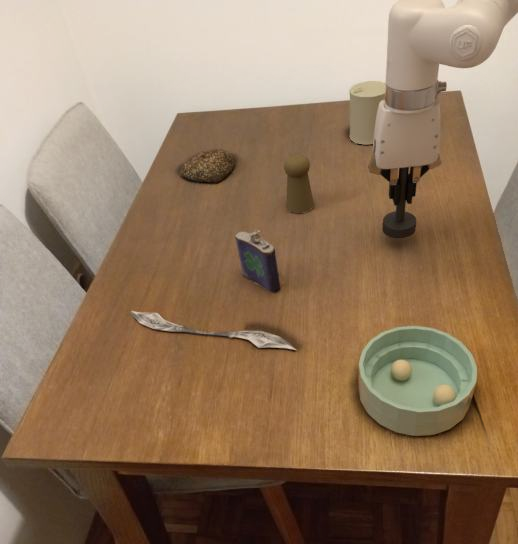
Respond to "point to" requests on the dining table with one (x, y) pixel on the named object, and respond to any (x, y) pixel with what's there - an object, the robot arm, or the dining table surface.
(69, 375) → the dining table surface
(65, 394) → the dining table surface
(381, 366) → the bowl
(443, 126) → the dining table surface
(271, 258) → the flask
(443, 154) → the dining table surface
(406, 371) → the dough ball
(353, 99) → the can
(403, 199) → the peg on round base
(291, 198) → the olive brown pawn
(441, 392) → the dough ball
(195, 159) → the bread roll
